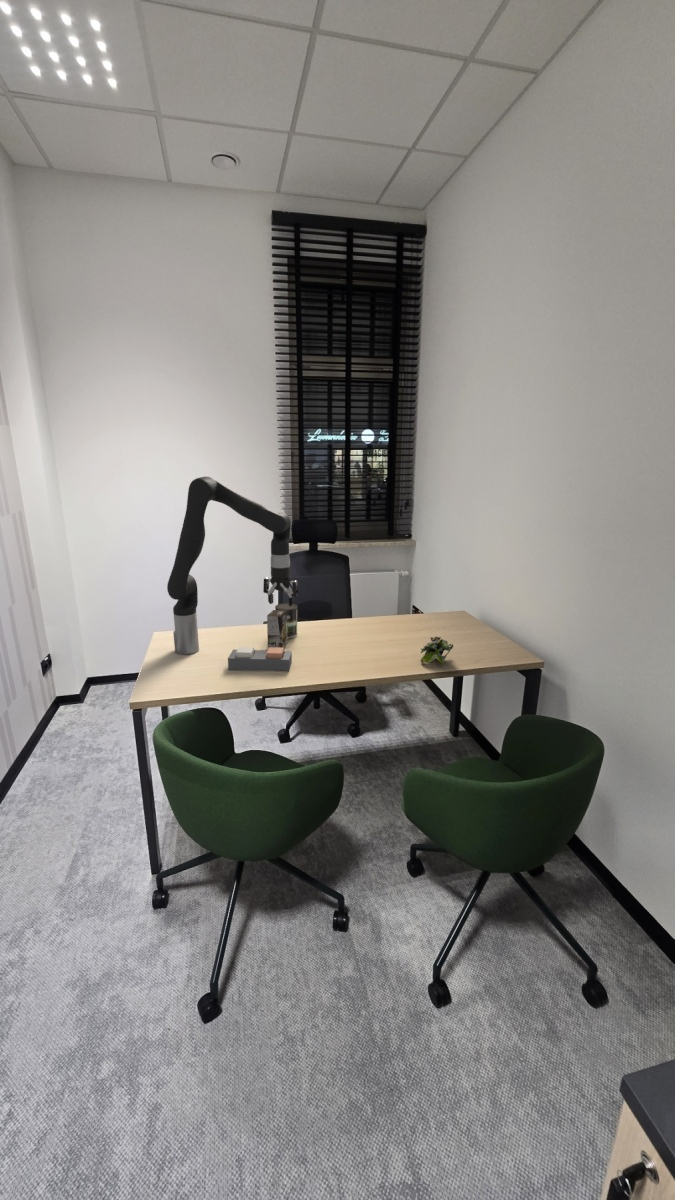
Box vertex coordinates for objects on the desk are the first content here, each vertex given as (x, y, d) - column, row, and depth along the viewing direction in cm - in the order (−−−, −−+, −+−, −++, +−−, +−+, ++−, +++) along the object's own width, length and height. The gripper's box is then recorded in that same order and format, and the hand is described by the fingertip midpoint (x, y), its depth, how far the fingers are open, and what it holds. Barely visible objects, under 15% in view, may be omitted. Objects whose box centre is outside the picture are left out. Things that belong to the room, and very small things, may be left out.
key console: (228, 670, 190) (227, 658, 188) (233, 660, 198) (233, 649, 197) (289, 671, 189) (289, 659, 188) (291, 662, 198) (291, 650, 197)
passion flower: (432, 671, 206) (447, 643, 207) (448, 678, 195) (464, 649, 196) (410, 657, 202) (426, 629, 203) (425, 663, 191) (441, 634, 192)
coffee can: (292, 639, 222) (292, 610, 218) (272, 637, 225) (271, 608, 221) (300, 632, 232) (300, 604, 228) (281, 629, 234) (280, 602, 230)
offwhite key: (236, 659, 190) (236, 652, 189) (239, 653, 196) (239, 646, 195) (251, 659, 190) (251, 652, 189) (254, 653, 196) (254, 646, 195)
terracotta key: (266, 660, 190) (266, 653, 189) (269, 654, 196) (268, 647, 195) (281, 660, 190) (281, 653, 189) (283, 654, 195) (283, 647, 195)
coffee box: (281, 652, 208) (280, 616, 203) (267, 650, 209) (266, 615, 205) (287, 644, 217) (287, 610, 212) (274, 643, 218) (273, 609, 213)
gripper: (259, 565, 187) (260, 605, 192) (293, 568, 182) (293, 609, 187) (268, 561, 194) (269, 600, 198) (300, 564, 189) (301, 604, 194)
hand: (281, 604), depth 193 cm, fingers open, 8 cm apart
